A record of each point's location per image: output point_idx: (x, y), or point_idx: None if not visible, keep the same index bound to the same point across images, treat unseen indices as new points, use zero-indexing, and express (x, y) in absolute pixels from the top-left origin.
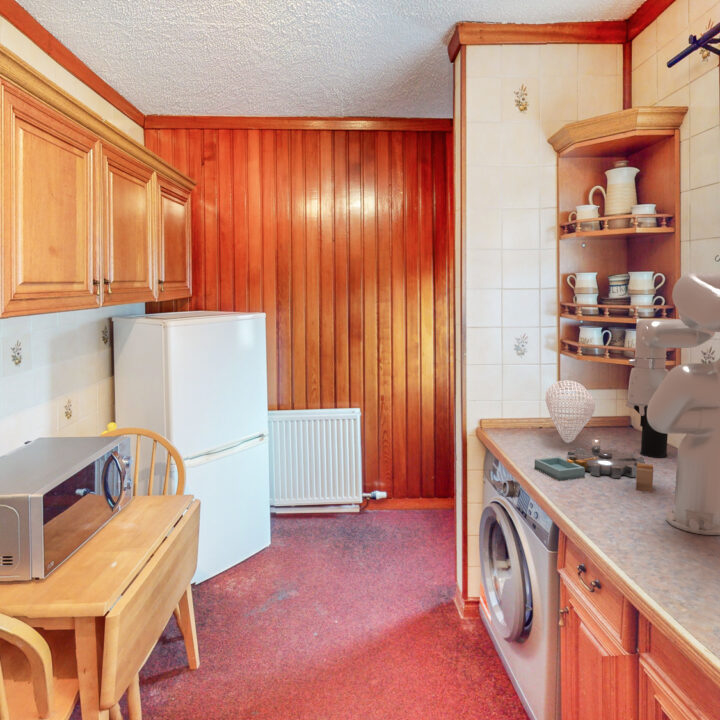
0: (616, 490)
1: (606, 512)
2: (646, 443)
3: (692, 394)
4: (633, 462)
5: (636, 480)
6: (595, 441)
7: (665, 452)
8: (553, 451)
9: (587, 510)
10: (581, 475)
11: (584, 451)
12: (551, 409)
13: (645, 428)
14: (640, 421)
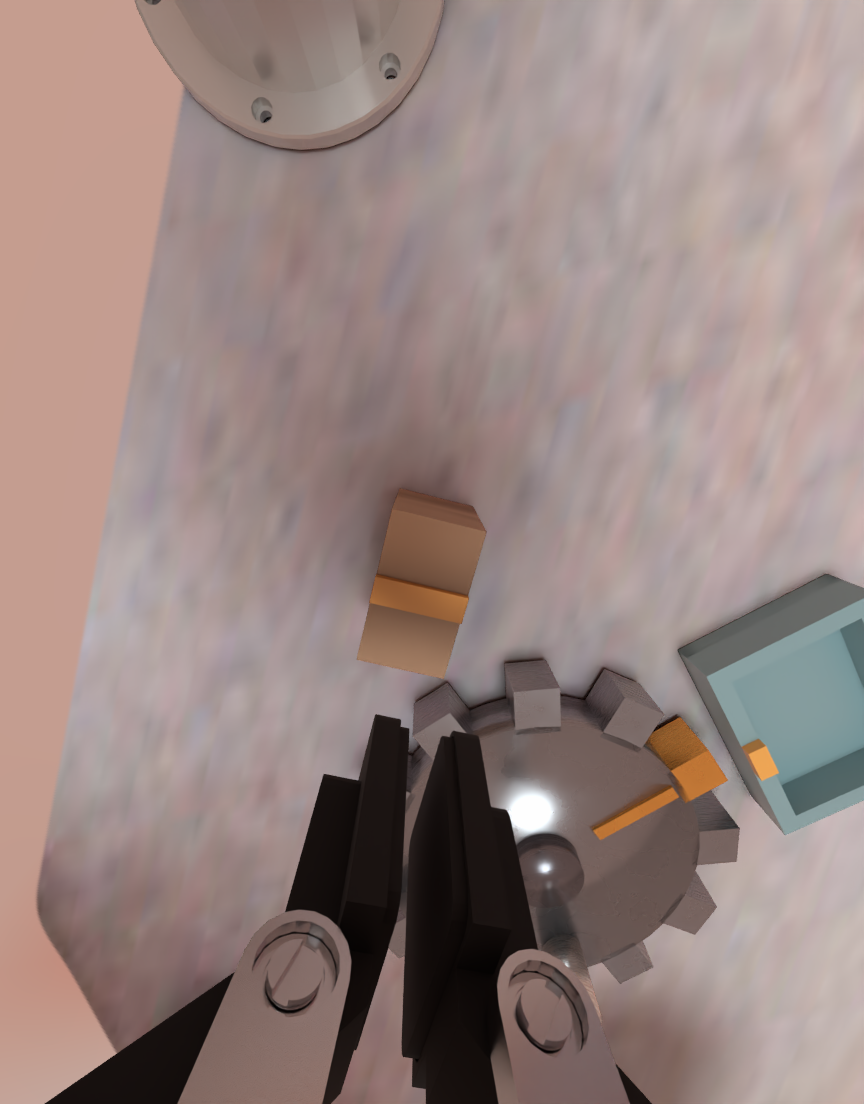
0: (574, 481)
1: (743, 82)
2: None
3: None
4: (417, 800)
5: (477, 517)
6: None
7: None
8: (705, 986)
9: (841, 95)
10: (703, 645)
11: (623, 930)
12: None
13: (449, 742)
14: (518, 864)
